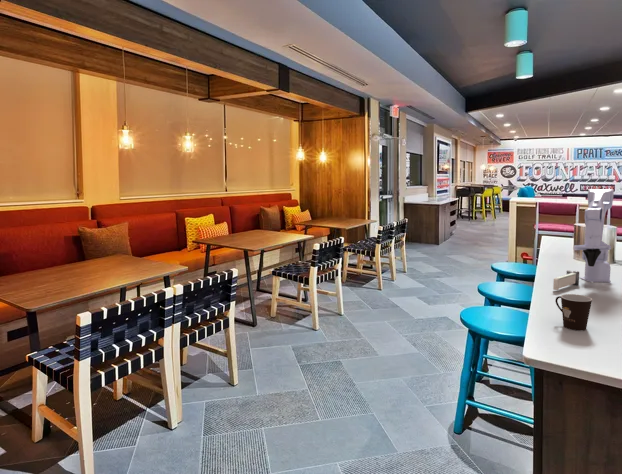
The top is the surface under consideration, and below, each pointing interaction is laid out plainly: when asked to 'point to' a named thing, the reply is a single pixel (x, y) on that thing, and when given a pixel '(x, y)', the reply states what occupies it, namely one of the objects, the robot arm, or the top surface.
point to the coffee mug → (575, 310)
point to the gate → (564, 281)
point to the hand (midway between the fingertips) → (591, 266)
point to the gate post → (576, 276)
